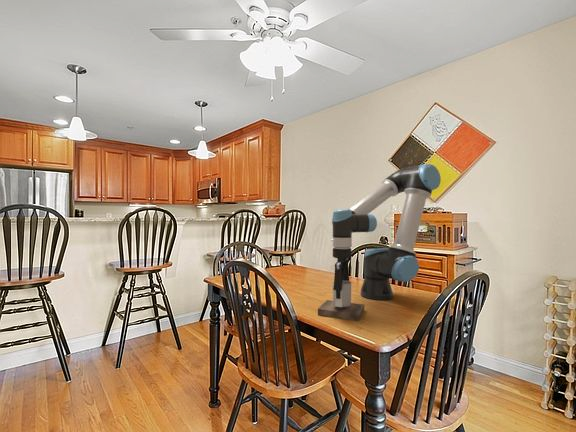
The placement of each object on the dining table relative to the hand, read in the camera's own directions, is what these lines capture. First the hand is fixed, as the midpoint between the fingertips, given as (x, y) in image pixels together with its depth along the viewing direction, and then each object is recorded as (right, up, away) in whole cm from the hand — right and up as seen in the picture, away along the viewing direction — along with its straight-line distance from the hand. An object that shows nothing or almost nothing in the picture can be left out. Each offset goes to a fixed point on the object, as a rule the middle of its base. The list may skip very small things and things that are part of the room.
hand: (341, 302), depth 122 cm
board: (0, -4, 0) cm, 4 cm away
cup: (0, 0, 0) cm, 0 cm away
